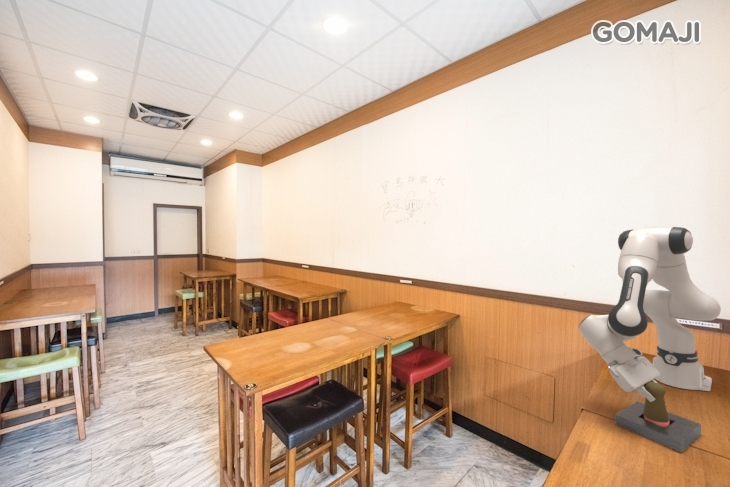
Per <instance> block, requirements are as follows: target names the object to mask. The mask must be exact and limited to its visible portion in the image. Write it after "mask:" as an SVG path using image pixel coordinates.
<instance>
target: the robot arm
mask: <svg viewBox="0 0 730 487" xmlns="http://www.w3.org/2000/svg"><path fill="white" fill-rule="evenodd" d="M617 243H618V244H617V245H618V249H619V250H621V251H620V254H619V258H618V263H617V275H618V277H619V278H621V279H622V280H621V281H622V284H621V285H622V286H621V288H620V294H619V298H618V302H617V304H616V305H615V306H614V307H613V308H612V309H610V312H609V313H608V314H597V315H596V314H588V316H586V317H585V318H584V319H582V320H581V322H580V323H579V324H578V331H579V332H580V334H581V335H582V337H583V338H584V339H585V341H586V342H587V343H588V344H589V345H590V346H591V348H594V349H595V350H596V351H597V352H598V353H599V356H600V357H601V359H603V360H604V361H605V363H606V364H607V367H608V371H609V373H610V375H611V377H612V378H613V380H614V381H615V382H616V384H617V385H618V386H619V387H620V388H621V390H623V391H624V392H625V393H630V392H633V391H635V390H636V392H637V393H638V394H640V395H641V396H643V397H644V398H647V399H648V400H649V401H650V402H652V401H654V400H656V397H655V396H654V395H653V394H650V393H649V392H648V391H646V390H645V387H644V384H646V383H648V382H655V383H658V382H660V383H662V384H664V385H667V386H670V387H674V388H678V389H683V390H688V391H689V390H691V391H703V392H711V390H712V384H713V379H712V377H710V376H707V375H705V371H704V370H705V369H704V366H703V365H702V363H700V361H699V356H698V355H699V351H698V349H696V336H695V334H694V332H692V330H691V329H689V328H688V327H686V326H683V325H682V324H681V323H680V322H679V321H677V319H684V320H685V319H686V320H691V321H708V322H709V321H714V320H715V319H717V318H718V317H719V316H720V315H721V309H722V308H721V305H720V303H719V301H717V299H716V298H715V297H713V296H710V295H709V294H706V293H705V292H704V291H702V290H701V289H700V288H699V287H697V286H696V285H695V283H694V282H693V281H692V279H691V276H690V273H689V270H688V266H687V261H686V256H685V254H686V253H688V252H689V251H690V250H691V249H692V246H693V243H694V238H693V236H692V233H691V231H690V230H688V229H687V228H685V227H681V226H672V227H667V226H666V227H664V226H662V227H658V226H657V227H656V226H655V227H647V228H638V229H627V230H625V231H623V232H621V233H620V234H619V235H618V240H617ZM651 281H653V282H654V283H655V284H657V285H658V286H661V287H662V288H665V289H666V290H662V289H647V286H648V285H649V283H650V282H651ZM647 316H648V318H650V320H651V321H652V323H653V325H654V327H655V328H656V333H657V344H658V345H657V346H656V356H654V357H653V358H652V362H651V361H650V360H649V359H648V358H647V357H645V356H644V355H643V352H642V351H641V350H640V349H638V348H633V347H629V346H627V344H625V343H624V342H626V341H631V340H633V339H634V340H635V339H636V338H637V337H639V336H640V335H642V333H644V332H645V331H646V330H647V328H648V318H647ZM657 381H658V382H657Z"/></svg>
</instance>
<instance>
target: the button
mask: <svg viewBox="0 0 730 487" xmlns="http://www.w3.org/2000/svg"><path fill="white" fill-rule="evenodd" d="M644 419H645V420H647V421H650V422H652V423H655V424H657V425H660V426H662V427H665V428H667V427H668V426H670V424H669V421H668V422H666V423H662V422H657V421H654V420H651V419H649V418H647V417H645V416H644Z"/></svg>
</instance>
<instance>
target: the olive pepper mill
mask: <svg viewBox="0 0 730 487" xmlns="http://www.w3.org/2000/svg"><path fill="white" fill-rule="evenodd" d="M643 386H644V387H645V390H646V391H648V392H649V393H650V394H653V395H654V396H655V397H656V400H654V401H652V402H650V401H649V400H648V399H647V398H646V397H644V399H645V400H644V404H645V405H644V412H643V415H644V416H645V417H647V418H649V419H651V420H654V421H657V422H662V423H666V422H668V421H669V419H668V414H667V412H668V411H667V406H666V401H665V396H666V393H667V390H666V388H665V386H664V385H662V384H660V383H658V382H657V383H655V382H648V383H646V384H644V385H643Z"/></svg>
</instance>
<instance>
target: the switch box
mask: <svg viewBox="0 0 730 487" xmlns="http://www.w3.org/2000/svg"><path fill="white" fill-rule="evenodd" d="M644 405H645V403H643V402H641V401H637V400H636V401H634V402H633V403H631V404H629V405H627V407H625V408H624V409H621V410H619V411H618V412H617V413H614V424H615V425H616V426H618V427H619V428H622V429H625V430H627V431H629V432H631V433H634V434H637V435H638V436H641V437H643V438H645V439H648V440H650V441H652V442H655V443H657V444H659V445H661V446H663V447H667V448H669V449H671V450H673V451H675V452H677V453H681V454H682V453H683V452H684V451H686V449H688V448H689V447H690V446H691V445H692V444H693V443H695V441H696V440H698V439H699V438H700V437H701V436H702V425H701V424H702V423H699V422H696V421H694V420H691V419H687V418H686V417H683V416H679V415H677V414H674V413H671V412H668V411H667V414H668V419H669V424H670V426H668V427H667V428H665V427H662V426H660V425H657V424H655V423H652V422H650V421H647V420H645V419H644V415H643V412H644Z"/></svg>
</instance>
